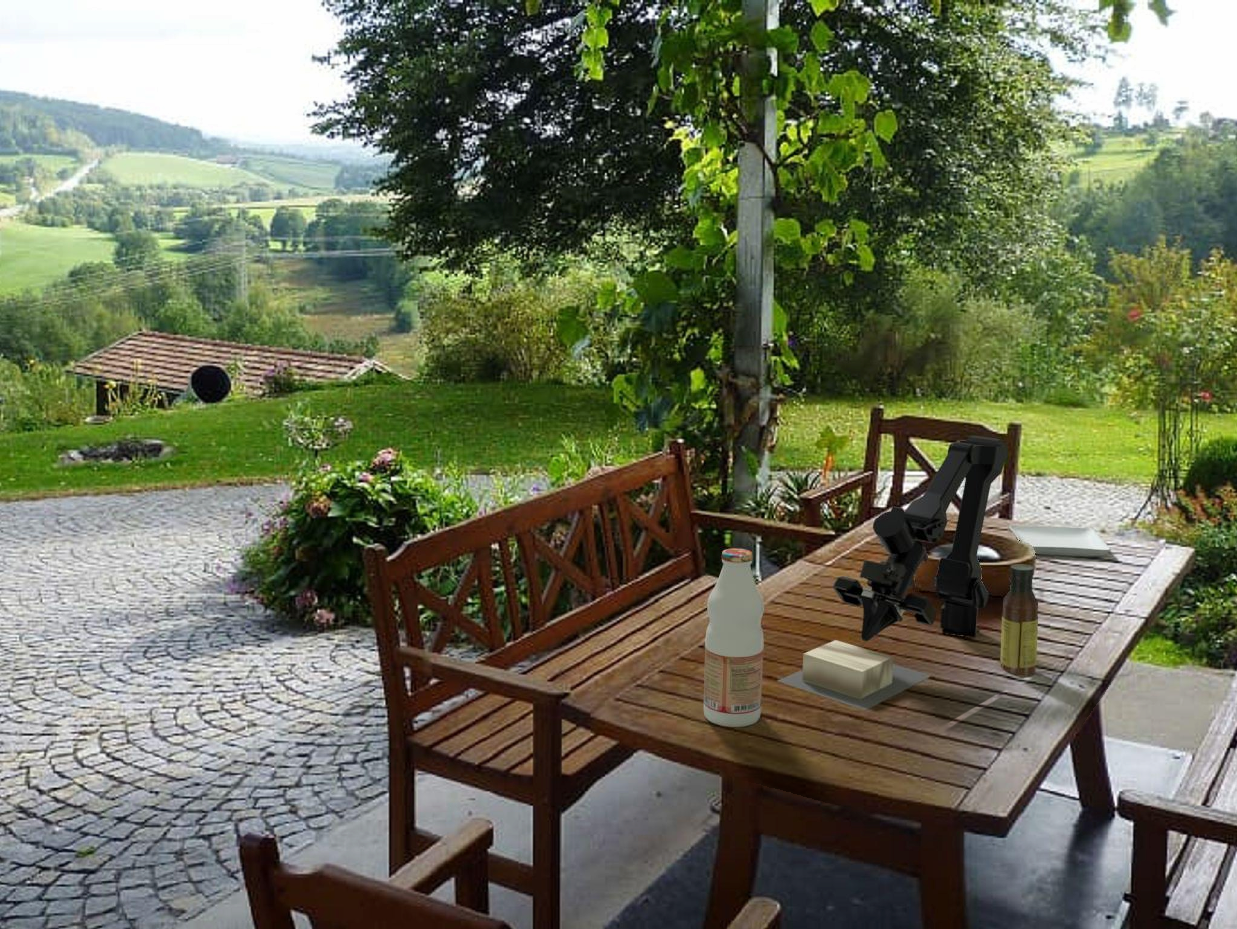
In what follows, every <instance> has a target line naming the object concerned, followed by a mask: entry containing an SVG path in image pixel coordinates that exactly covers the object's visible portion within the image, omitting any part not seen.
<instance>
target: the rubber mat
mask: <svg viewBox="0 0 1237 929" xmlns="http://www.w3.org/2000/svg"><path fill="white" fill-rule="evenodd" d="M802 674H803V669H801V670H798V671H796V672H793V673H792V674H790V675H789V674H788V675H787V676H785V677H782V678H780V679H778V680H776V682H778V683H781V684H784V685H786V686H790V687H792V688H796V689H797V690H798V689H799V690H801V691H805V692H807V693H808V692H809V693H811V694H814V695H817V696H820V697H823V698H825V699H829V700H832V701H835V702H838V703H840V704H844V705H847V706H850V707H853V708H856V709H859V710H862V711H867V710H869V709H871V708H873V707H875V706H877V705H879V704H881V703H882V702H884V701H886V700H888V699H890V698H893V697H894V696H896V695H897V694H900V693H902V692H904V691H906V690H908V689H909V688H911V687H913V686H916V685H918V684H919V683H921V682H923V681H925V680H926V679H928V678H931V677H932V675H931V674H928V673H925V672H921V671H917V670H914V669H911V668H907V667H905V666H904V667H903V666H900V665H897V664H894V663H893V676H892V684H891V685H889V686H887V687H885V688H883V689H881V690H879V691H877V692H875V693H873V694H871V695H869V696H867V697H865V698H863V699H861V700H860V699H857V698H854V697H851V696H848V695H845V694H842V693H839V692H836V691H832V690H829V689H826V688H823V687H820V686H817V685H814V684H811V683H808V682H805V681H802Z"/></svg>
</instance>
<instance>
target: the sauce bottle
mask: <svg viewBox="0 0 1237 929" xmlns="http://www.w3.org/2000/svg"><path fill="white" fill-rule="evenodd" d="M1009 574H1010V582H1011V585H1010V591H1009V592H1008V593H1007V595H1006V596H1005V597H1003V600H1002V615H1001V633H1000V634H1001V635H1000V659H999V660H1000V668H1001V669H1002V670H1003V671H1004V672H1007V673H1010V674H1013V675H1014V674H1015V675H1020V676H1023V675H1024V676H1025V675H1026V676H1028V677H1029V676H1032V675H1034V674H1035V672H1036V665H1037V657H1038V655H1037V654H1038V652H1037V651H1038V634H1039V632H1038V631H1039V628H1038V627H1039V610H1038V609H1039V602H1038V600H1037V598H1036V595H1035V593H1034V592H1033V590H1034V589H1033V579H1034V574H1035V568H1034V567H1033V565H1030V564H1025V563H1024V564H1023V563H1017V564H1016V563H1015V564H1014V563H1013V564H1012V565H1010V568H1009Z"/></svg>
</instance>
